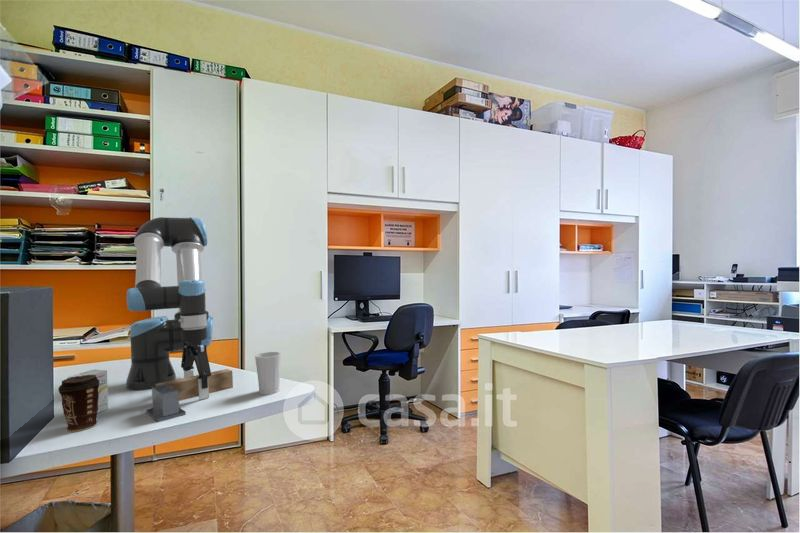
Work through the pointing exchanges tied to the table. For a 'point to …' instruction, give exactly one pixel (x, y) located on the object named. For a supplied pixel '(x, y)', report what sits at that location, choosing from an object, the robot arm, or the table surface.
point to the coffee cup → (80, 401)
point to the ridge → (165, 403)
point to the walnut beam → (191, 389)
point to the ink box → (102, 388)
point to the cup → (268, 372)
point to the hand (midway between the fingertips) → (196, 394)
